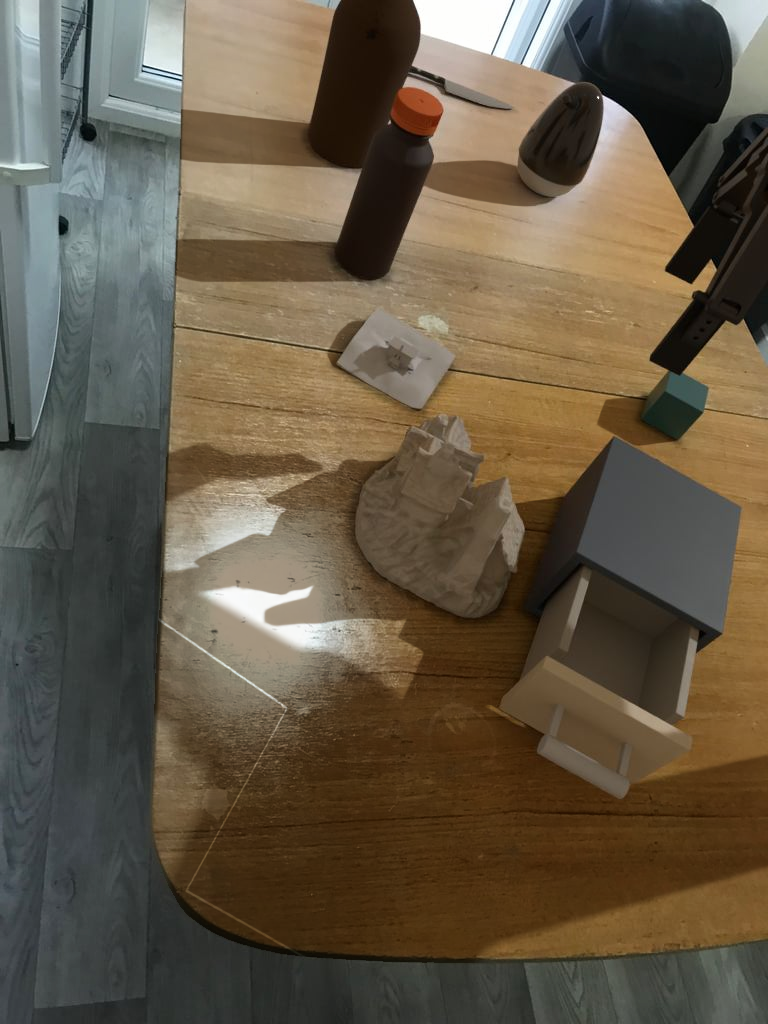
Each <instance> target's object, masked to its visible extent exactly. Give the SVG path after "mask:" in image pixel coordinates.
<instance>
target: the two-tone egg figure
mask: <svg viewBox="0 0 768 1024" xmlns="http://www.w3.org/2000/svg"><path fill="white" fill-rule="evenodd" d="M604 111H605V110H604V98H603V94H602V92H601V91H600V89H599V88H598V87H597V86H596V85H595V84H593V83H591V82H587V81H578V82H576V83H573V84H572V85H570V86H568V87H567V88H566V89H563V91H561V92H560V93H559V94H558V95H556V97H555V98H554V99H553V100H552V101H551V102H550V103H549V104H548V105H547V107H545V108H544V110H543V111H542V112H541V113H540V115H538V117H537V118H536V119H535V121H534V122H533V123H532V125H531V126H530V128H529V129H528V130H527V132H526V134H525V135H524V137H523V138H522V140H521V142H520V144H519V147H518V156H517V171H518V174H519V177H520V179H521V180H522V182H523V183H524V184H525V186H527V188H528V189H530V190H531V191H533V192H534V193H536V194H539V195H541V196H544V197H549V198H555V197H561V196H563V195H566V194H568V193H569V192H570V191H572V190H573V189H575V187H576V186H577V185H579V184H580V183H582V182H583V180H584V179H585V177H586V175H587V173H588V171H589V168H590V166H591V164H592V162H593V161H592V160H593V158H594V156H595V152H596V149H597V145H598V142H599V139H600V135H601V130H602V127H603V126H602V125H603V120H604Z"/></svg>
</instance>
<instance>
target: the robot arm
mask: <svg viewBox="0 0 768 1024" xmlns="http://www.w3.org/2000/svg"><path fill="white" fill-rule="evenodd" d="M717 187H718V188H719V189H718V190H717V191H716V192H715V193H714V194H713V196H712V200H711V203H712V204H713V206H712V205H711V204H710V205H708V206H707V208H706V209H705V210H704V212H703V214H702V215H701V216H700V218H699V219H698V220H697V222H696V223H695V224H694V226H693V228H692V229H691V230H690V232H689V233H688V235H686V237H685V239H684V240H683V242H681V244H680V246H679V247H678V248H677V250H675V253H674V254H673V255H672V257H671V258H670V260H669V261H668V263H666V266H665V268H664V272H666V273H667V274H669V275H671V276H673V277H676V278H677V279H679V280H681V281H683V282H685V283H687V284H689V285H693V284H694V282H695V281H696V280H697V278H698V277H699V276H700V274H701V273H702V272H703V271H704V269H705V268H706V266H707V265H708V264H709V263H710V261H711V260H712V259H713V257H714V256H715V255H716V253H717V252H718V251H719V249H720V248H721V247H722V246H723V244H724V243H725V242H726V240H727V239H728V238H729V236H730V235H731V233H733V232H734V230H735V228H736V227H737V226H738V224H739V219H737V218H736V217H734V216H732V215H735V216H737V217H739V218H740V219H742V221H741V223H740V225H739V227H738V230H737V231H736V233H735V235H734V237H733V239H732V241H731V242H730V244H729V246H728V248H727V250H726V251H725V254H724V255H723V257H722V259H721V260H720V263H719V265H718V267H717V269H716V271H715V272H714V275H713V276H712V278H711V280H710V282H709V284H708V286H707V287H706V289H705V291H702V290H700V289H698V290H694V291H693V292H692V294H691V299H692V300H691V301H690V303H689V305H688V306H687V307H686V308H685V310H684V311H683V312H682V314H681V315H680V316H679V317H678V318H677V320H676V321H675V323H674V324H673V325H672V326H671V328H670V329H669V330H668V332H667V333H666V334H665V336H664V337H663V338H662V339H661V341H660V342H659V343H658V345H657V346H656V347H655V348H654V350H653V351H652V352H651V353H650V355H649V360H648V362H651V363H653V364H655V365H657V366H658V367H661V368H662V369H665V370H667V371H671V372H673V373H675V374H677V375H679V376H680V375H681V374H682V373H684V372H685V370H686V369H687V368H688V367H689V366H690V364H691V363H692V362H693V361H694V360H695V359H696V357H697V356H698V355H699V354H700V352H701V351H703V349H704V348H705V347H706V345H707V344H708V343H709V342H710V340H712V338H713V337H714V336H715V335H716V333H717V332H718V331H719V330H720V329H721V327H723V325H724V324H725V323H726V322H728V323H730V324H732V325H735V326H739V325H740V324H741V322H742V321H743V320H744V319H745V317H746V315H747V313H748V311H749V310H750V309H751V307H752V305H753V303H755V300H756V299H757V297H758V295H759V294H760V293H761V291H762V290H763V288H764V287H765V285H766V284H767V282H768V125H767V126H766V127H765V128H764V130H763V131H761V132H760V134H759V135H758V136H757V137H756V138H755V139H754V141H752V142H751V144H750V145H749V146H748V147H747V148H746V149H745V150H744V151H743V152H742V154H741V155H740V156H739V157H738V158H737V159H736V160H735V161H734V162H733V164H732V165H731V166H729V168H728V169H727V170H726V171H725V173H723V175H721V176H720V177H719V179H718V183H717Z"/></svg>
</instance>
